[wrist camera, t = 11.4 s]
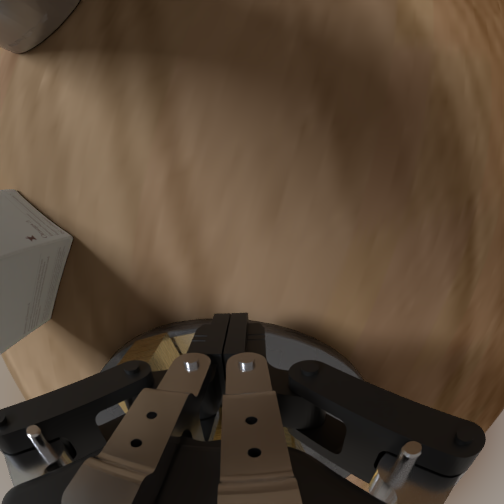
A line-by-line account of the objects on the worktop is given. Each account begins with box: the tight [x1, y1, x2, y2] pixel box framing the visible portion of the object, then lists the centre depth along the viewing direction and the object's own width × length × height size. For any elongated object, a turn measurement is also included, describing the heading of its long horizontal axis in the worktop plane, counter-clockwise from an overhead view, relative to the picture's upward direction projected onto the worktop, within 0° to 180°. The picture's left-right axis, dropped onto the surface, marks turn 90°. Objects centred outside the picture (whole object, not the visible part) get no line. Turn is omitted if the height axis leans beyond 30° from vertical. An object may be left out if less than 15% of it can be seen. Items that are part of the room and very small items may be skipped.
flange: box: [96, 319, 364, 478], centre depth 15 cm, size 22×22×7 cm
